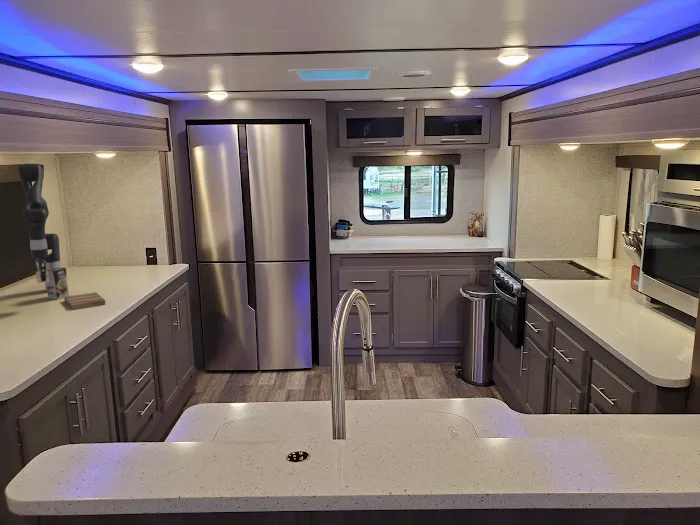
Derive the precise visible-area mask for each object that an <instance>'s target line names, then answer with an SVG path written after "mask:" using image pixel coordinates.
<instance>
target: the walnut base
mask: <svg viewBox="0 0 700 525" xmlns="http://www.w3.org/2000/svg"><path fill="white" fill-rule="evenodd" d="M63 299H64V303H66V305H67V306H68V307H69V308H70V309H71V310H73V311H74V310H78V309H79V310H80V309H85V307H86V308H92V307H98V306H103V305H104V306H105V305H106V299H105V298H104V297H102V296H101V295H100V294H99V293H98V292H96V291H95V292H89V293H87V292H86V293H80V294H74V295H69V296H66V297H63ZM91 306H92V307H91Z"/></svg>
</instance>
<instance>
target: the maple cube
mask: <svg viewBox="0 0 700 525" xmlns="http://www.w3.org/2000/svg"><path fill="white" fill-rule="evenodd" d="M46 272H47V273H46V281H41V274H40V271H38V270H37V271H35V276H36V282H37V284H41V283H42V284H43V283H45V282H49V274H48V271H47V270H46Z"/></svg>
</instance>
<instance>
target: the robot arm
mask: <svg viewBox="0 0 700 525" xmlns="http://www.w3.org/2000/svg"><path fill="white" fill-rule="evenodd" d="M17 171H18V172H17V173H18V175H19V178H20V182H21V185H22V189H23V191H24V194H25V203H26V204H25V208H24V209H23V213H22V218H23V220H24V222H25V223H27V224H32V225H33V227H30V228H29V230H28V234H29V245H30V253H31V258H33V259H35V264H36V268H37V269H36V270H37V271H40V274H41V281H46V273H47V272H46V270H50V269H53V268H62V267H61V266H62V264H61V263H62V262H61V252H60V238H59V235H58V234H57V233H46V223H47V219H48V217H49V214H50V212H49V208H48V203H47V201H46V199H45V198H44V197H43V196H42V192H43V191H42V190H43V185H44V184H43V183H44V171H43V168H42V166H41V165H40V164H39V163H31V164H29V163H28V164H27V163H26V164H20V165H18V168H17ZM31 182H34V183H33V184H32V185H31V184H30V183H31ZM49 251H51V252H50V253H49ZM44 289H45V292H47V283H46V282H44Z"/></svg>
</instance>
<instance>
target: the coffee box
mask: <svg viewBox="0 0 700 525" xmlns="http://www.w3.org/2000/svg"><path fill="white" fill-rule="evenodd" d="M47 271H48V274H49V282H46V283H47V291H46V293H47V299H49V300H60V299H64V297H66V296H70V295H69V294H70V293H69V286H68V284H69V283H68V276H67V268H66V267H61V268H53V269H50V270H47Z"/></svg>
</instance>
